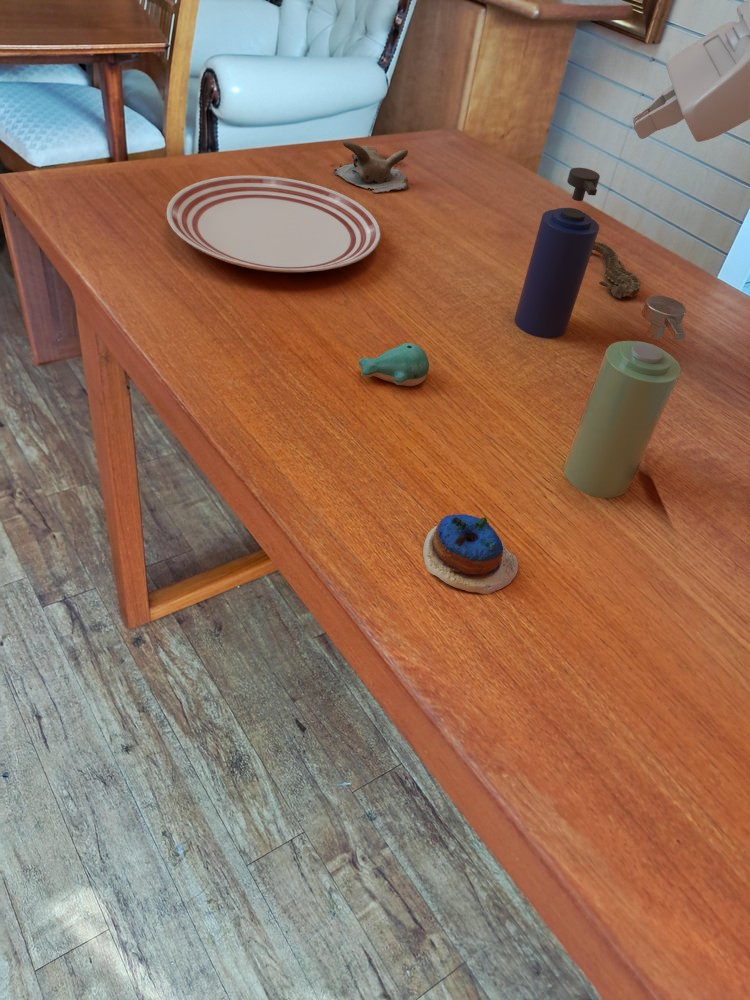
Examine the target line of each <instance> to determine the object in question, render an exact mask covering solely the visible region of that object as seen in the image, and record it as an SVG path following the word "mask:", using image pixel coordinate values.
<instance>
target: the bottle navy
mask: <svg viewBox="0 0 750 1000" xmlns="http://www.w3.org/2000/svg"><path fill="white" fill-rule="evenodd" d="M599 230H600V224H599V223H598V222H597V221H596V220H595V219H594V218H592V217H591V216H590V215H589V214H588V213H586V212H584V211H582V210H581V209H578V208H575V207H559V208H558V207H557V208H555V209H550V210H546V211H545V212H543V213H542V216H541V219H540V223H539V227H538V229H537V232H536V233H537V234H536V238H535V240H534V241H535V242H534V245H533V249H532V252H531V256H530V260H529V264H528V267H527V269H526V274H525V277H524V281H523V286H522V290H521V293H520V297H519V299H518V304H517V308H516V311H515V316H514V323H515V325H516V326H517V327H518V329H520V330H521V331H522V332H524V333H526V334H529V335H530V336H534V337H536V338H541V339H556V338H557V339H558V338H561V337H562V336H564V335H565V334H566V332H567V329H568V326H569V323H570V321H571V318H572V315H573V311H574V309H575V305H576V302H577V298H578V296H579V293H580V290H581V286H582V284H583V280H584V277H585V273H586V271H587V268H588V265H589V261H590V259H591V255H592V252H593V250H592V249H593V246H594V243H595V242H596V239H597V237H598V234H599Z"/></svg>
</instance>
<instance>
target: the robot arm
mask: <svg viewBox="0 0 750 1000" xmlns="http://www.w3.org/2000/svg"><path fill="white" fill-rule="evenodd" d="M736 13H737V16H738V19H739V21H738V22H736V21H730V22H727V23H725V24H723V25H721V26H719V27H717V28H716V29H714V30H712V31H710V32H709V33H708V34H706V35H704V36H703V37H701V38H699V39H698V40H696V41H695V42H693V43H691V44H690V45H688V46H687V47H685V48H684V49H682V50H681V51H679V52H678V53H676V54H675V55H674V56H672V57H671V59H669V60H668V61H667V62H666V64H665V68H666V70H667V73H668V76H669V78H670V82H671V85H670V86H669V87H668V88H667V89H665V90H664V91H662V92H661V93H659V94H658V95H657V96H656V98H655V99H653V100H652V101H651V103H649V104H648V105H647V106H646V107H645V108H644V109H642V110H640V111H639V112H638V113H636V114H634V116H633V118H632V123H633V128H634V131H635V132H636V133H635V134H637V136H638V138H639V139H641V140H643V139H646V138H648V137H650V136H651V135H653V134H655V132H658V131H660V130H663V129H666V128H669V127H672V126H675V125H677V124H679V123H681V121H683V120H684V121H685V122H686V125H687V127H688V129H689V131H690V133H691V135H692V136H693V138H694V140H695V141H696V142H698V143H701V142H705V141H709V140H711V139H714V138H717V137H719V136H721V135H724V134H725V133H727V132H729V131H730V130H732V129H735V128H736V127H738V126H741V125H742V124H743V123H746V122H747V121H750V0H745V1H744V2H742V3H741V4H739V5H737V6H736Z"/></svg>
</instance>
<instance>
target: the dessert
mask: <svg viewBox="0 0 750 1000" xmlns="http://www.w3.org/2000/svg"><path fill="white" fill-rule="evenodd" d="M509 549H511V545H510V546H509ZM422 557H423V562H424V566H425V568H426V570H427V572H428V573H429V574H431V575H433V576H436V577H437V578H438V579H439V580H441V581H442V582H444V583H445V584H448V585H449V586H451V587H453V588H456V589H459V590H463V591H466V592H470V593H477V594H481V595H490V594H492V593H495V592H497V591H499V590H502V589H503V588H505V587H507V586H509V584H511V582H513V580H514V579H515V578H516V576H517V573H518V571H519V561H518V558H517V557H516V555H514V554H513V553H512V552H510V551H509V550H508V548H507V547H506V546H505V544H504V542H503V540H502V539H501V538H500V536H499V535H498V534H497V533H496V531H495V529H494V528H493V527H491V525H490V523H489V522H488V519H487V517H484V516H483V517H481V518H479V517H477V516H474V515H469V514H467V513H459V514H455V513H453V514H449V515H446V516H444V517H442V518H440V521H439V524H435V526H434V527H432V528H431V529H430V530H429V532H428V534H427V535H426V537H425V540H424V542H423V549H422Z"/></svg>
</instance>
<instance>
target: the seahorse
mask: <svg viewBox="0 0 750 1000" xmlns="http://www.w3.org/2000/svg"><path fill="white" fill-rule="evenodd" d="M592 251H594V252H597V253H598V254H599V255H601V257H603V259H604V263H605V267H606V269H605V272H604V273H605V274H604V275H603V276H604V277H605V278H606V280H607V281H610V283H612V284H610V283H607V282H606V281H602V280H601V281H599V282H598V284H599V285H600V286H603V287H604V288H607V292H608V294H612V296H613V299H620V300H621V299H622V298H625V297H630V298H633V297H635V296H637V294H639V292H640V287H641V285H642V284H641V281H640V278H639V277H638V276H637V275H636V274H634V273H632V272H630V271H629V270H627V269H626V267H625V264H622V262H621V260H619V255H618V253H617V252H616V251H615V249H613V248H612V247H611V246H610V245H608V244H606V243H604V242H600V241H595V243H594V246H593V249H592Z"/></svg>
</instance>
